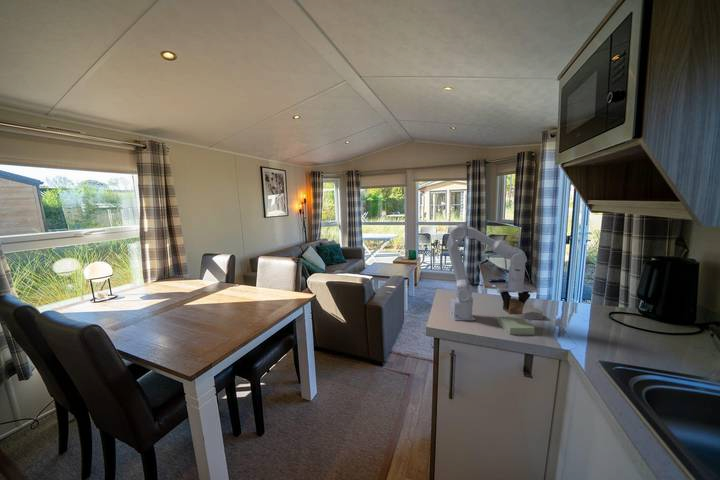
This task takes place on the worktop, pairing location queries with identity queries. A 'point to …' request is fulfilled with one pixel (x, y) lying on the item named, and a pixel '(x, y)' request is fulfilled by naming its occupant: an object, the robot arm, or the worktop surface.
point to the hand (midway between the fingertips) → (513, 308)
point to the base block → (516, 326)
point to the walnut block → (514, 306)
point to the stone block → (530, 313)
